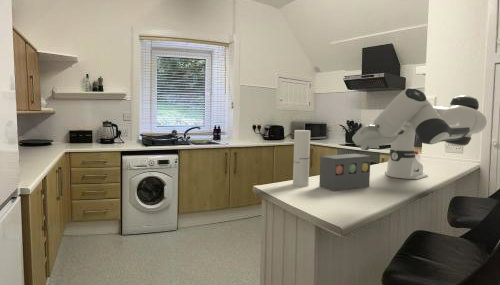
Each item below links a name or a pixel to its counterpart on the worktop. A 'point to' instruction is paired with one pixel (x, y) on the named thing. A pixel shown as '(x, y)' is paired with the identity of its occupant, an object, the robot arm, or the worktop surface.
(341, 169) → the terracotta button
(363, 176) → the control panel
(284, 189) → the worktop surface
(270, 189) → the worktop surface
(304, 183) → the cylindrical container
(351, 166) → the sage green button
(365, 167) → the ochre button
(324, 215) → the worktop surface
